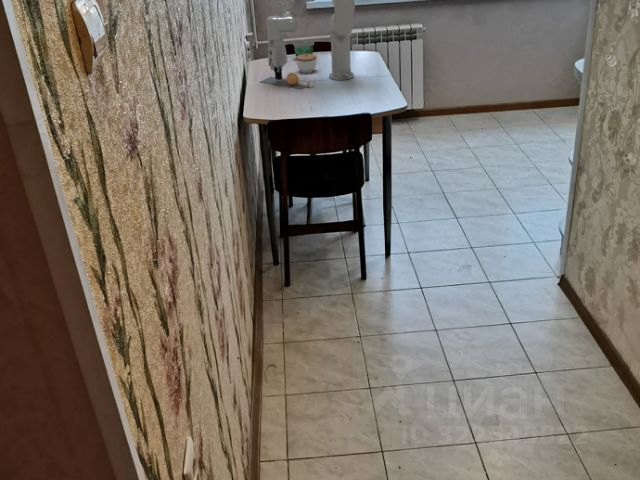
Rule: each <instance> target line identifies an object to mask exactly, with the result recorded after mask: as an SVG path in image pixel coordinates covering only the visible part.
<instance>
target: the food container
mask: <svg viewBox="0 0 640 480" xmlns="http://www.w3.org/2000/svg"><path fill="white" fill-rule="evenodd" d="M314 45H315V41H314V40H311V41H303V40H301V41H295V40H293V41H292V46H294V53H295V58H296V57H297V56H298V55H302V54H305V53H307V54H314V53H313V52H314Z"/></svg>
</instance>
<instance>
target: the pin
mask: <svg viewBox="0 0 640 480" xmlns="http://www.w3.org/2000/svg"><path fill="white" fill-rule="evenodd" d="M297 85H300V86H306V87H307V88H313V87H314V83H313V82H306V81H301V80H298V82H297ZM306 87H305V88H306Z"/></svg>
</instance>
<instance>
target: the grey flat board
mask: <svg viewBox="0 0 640 480" xmlns="http://www.w3.org/2000/svg"><path fill="white" fill-rule="evenodd" d="M259 83H262V84H268V85H272V86H278V85H279V87H284V86H285V87H286V88H291V89H297V90H302V89H304V88H306V86H300V85H297V84H295V85H290V84H288V83H287V80H286V78H283V77H282V79H281V80H278V79H275V76H270V77H267V78H265V79H262V80H260V81H259Z"/></svg>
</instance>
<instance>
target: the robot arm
mask: <svg viewBox="0 0 640 480" xmlns="http://www.w3.org/2000/svg"><path fill="white" fill-rule="evenodd" d="M308 1H309V0H288V1H287V3H286V6H285V8H284V11H283V13H282V15H281V16H280V15H270V16H268V17H267V18H266V28H267V30H266V31H267V42H268V44H267V45H268V47H267V48H268V49H267V51H268V52H267V61H268V66H269V67H270V70H272V71H273V72H274V77H275V79H278V80H281V79H282V78H283V73H282V71H283V67H284V66H285V65H286V64H287V63H288V54H287V49H286V45H285V43H284V33H294V32H296V31H297V29H298V28H299V25H300V24H299V21H298V18H299V16H300V13H301V11H302V8H303V7H304V6H305V4H306V3H307V2H308ZM355 2H356V1H355V0H332V4H333V6H334V13H333V14H332V16H331V17H330V19H329V32H330V46H331V47H330V48H331V49H330V51H331V53H330V54H331V55H330V56H331V73H329V74H328V77H329V79H332V80H335V81H345V80H351V79H352V78H354V76H355V74H354V72H352V69H351V36H350V34H351V33H352V31H353V28H354V21H355V20H354V19H355V11H356V10H355V8H356V5H355Z"/></svg>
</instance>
